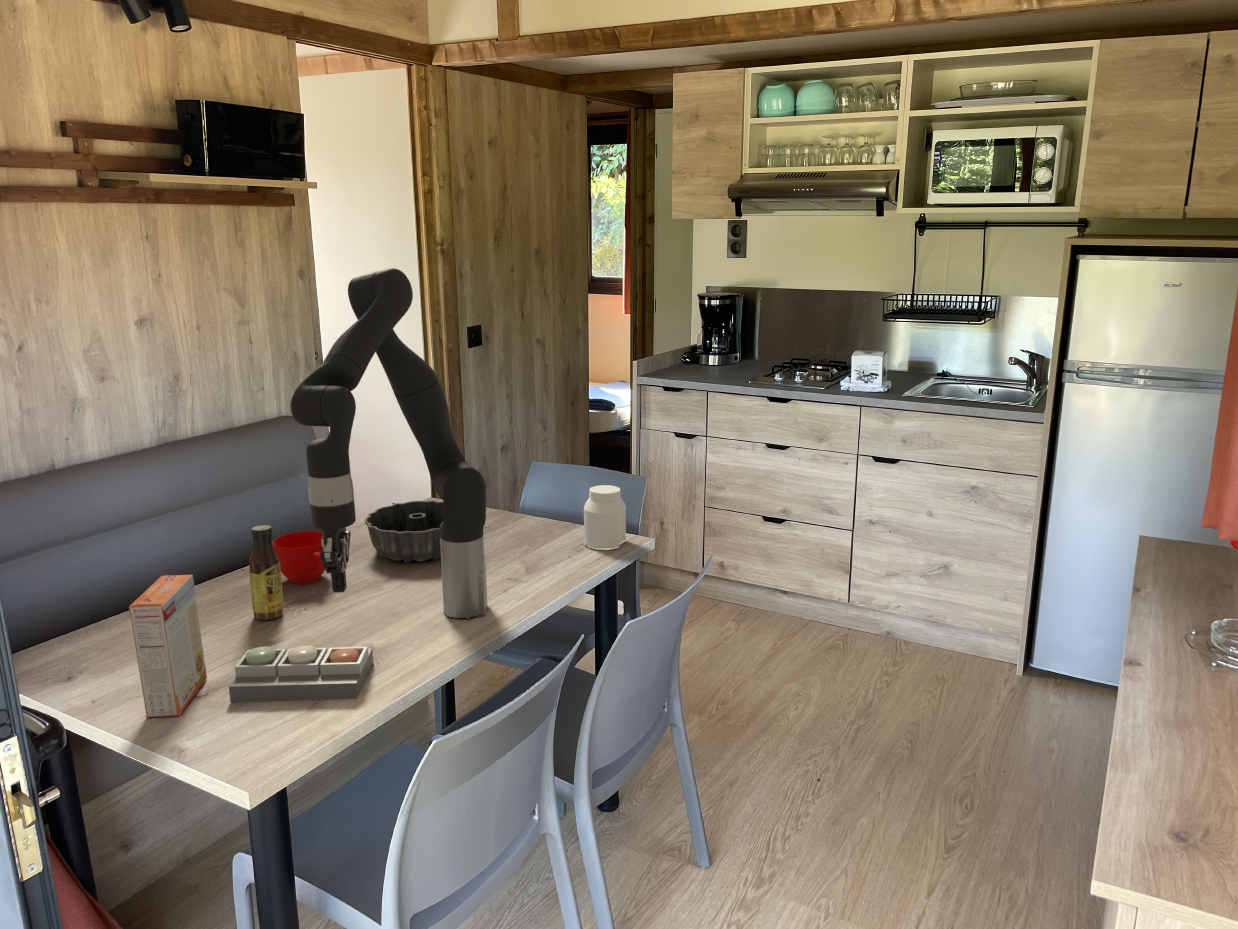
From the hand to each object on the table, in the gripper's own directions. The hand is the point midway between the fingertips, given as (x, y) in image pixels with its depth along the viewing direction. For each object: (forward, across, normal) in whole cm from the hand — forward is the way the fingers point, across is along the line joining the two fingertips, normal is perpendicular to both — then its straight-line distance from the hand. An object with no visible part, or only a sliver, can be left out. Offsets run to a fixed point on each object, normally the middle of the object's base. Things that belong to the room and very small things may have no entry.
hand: (339, 590), depth 164 cm
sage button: (+13, 0, +15) cm, 20 cm away
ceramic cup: (+18, +51, +20) cm, 58 cm away
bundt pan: (+18, +71, -3) cm, 73 cm away
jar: (+18, +74, -51) cm, 92 cm away
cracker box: (+18, -5, +29) cm, 34 cm away
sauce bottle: (+18, +31, +24) cm, 43 cm away
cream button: (+13, 0, +8) cm, 15 cm away
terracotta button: (+14, 0, 0) cm, 14 cm away
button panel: (+18, 0, +8) cm, 19 cm away
